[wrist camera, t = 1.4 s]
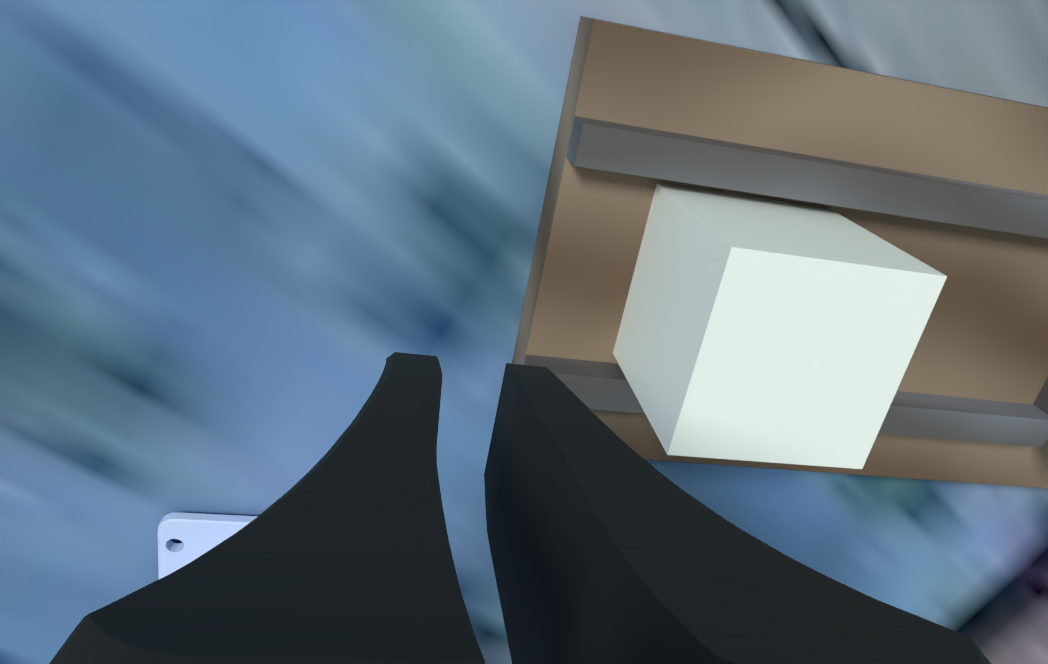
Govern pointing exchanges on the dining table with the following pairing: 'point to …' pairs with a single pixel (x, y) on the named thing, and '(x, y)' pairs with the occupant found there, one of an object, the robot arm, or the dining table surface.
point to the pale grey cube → (768, 328)
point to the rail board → (816, 180)
